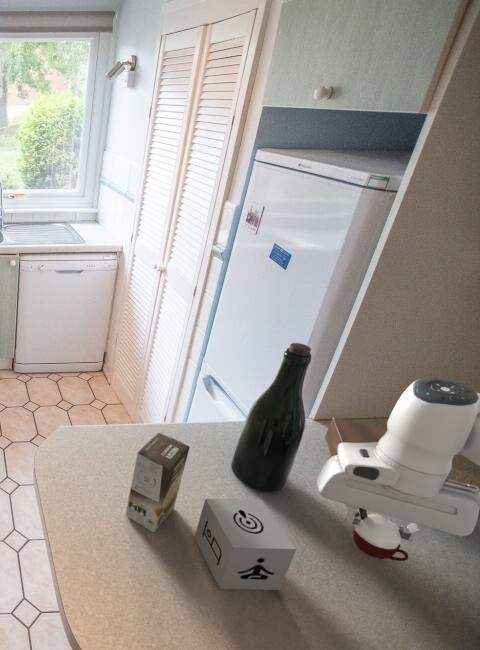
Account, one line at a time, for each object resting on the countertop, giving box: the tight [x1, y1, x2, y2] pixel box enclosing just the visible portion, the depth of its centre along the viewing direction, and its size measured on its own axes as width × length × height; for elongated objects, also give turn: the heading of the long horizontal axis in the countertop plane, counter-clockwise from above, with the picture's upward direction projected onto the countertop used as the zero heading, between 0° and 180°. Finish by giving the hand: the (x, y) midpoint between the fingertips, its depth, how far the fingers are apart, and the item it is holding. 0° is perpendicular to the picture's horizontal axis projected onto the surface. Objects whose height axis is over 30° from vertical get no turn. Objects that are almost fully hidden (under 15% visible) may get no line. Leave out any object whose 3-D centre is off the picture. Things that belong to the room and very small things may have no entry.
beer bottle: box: [230, 342, 312, 493], centre depth 94 cm, size 10×10×33 cm
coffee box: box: [124, 432, 191, 533], centre depth 88 cm, size 9×6×16 cm
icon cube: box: [194, 498, 297, 591], centre depth 79 cm, size 10×10×10 cm
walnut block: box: [324, 416, 387, 457], centre depth 104 cm, size 12×12×6 cm
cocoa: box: [352, 508, 409, 562], centre depth 80 cm, size 10×6×12 cm, turn 6°
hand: (377, 529), depth 80 cm, fingers closed on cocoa, 6 cm apart
